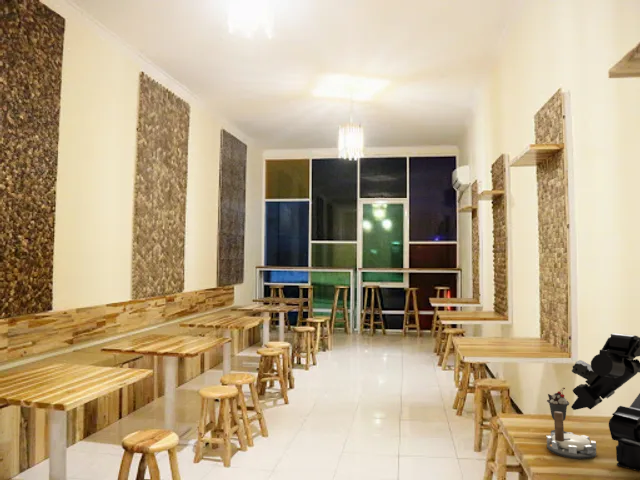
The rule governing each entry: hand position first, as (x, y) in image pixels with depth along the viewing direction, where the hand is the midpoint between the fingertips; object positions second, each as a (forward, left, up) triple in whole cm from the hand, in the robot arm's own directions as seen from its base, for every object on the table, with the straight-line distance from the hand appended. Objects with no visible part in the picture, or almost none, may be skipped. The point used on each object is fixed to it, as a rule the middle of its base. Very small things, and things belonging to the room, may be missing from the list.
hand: (572, 408), depth 141 cm
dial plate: (+2, -3, -13) cm, 14 cm away
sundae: (+10, -16, -14) cm, 24 cm away
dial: (+2, -3, -12) cm, 12 cm away
